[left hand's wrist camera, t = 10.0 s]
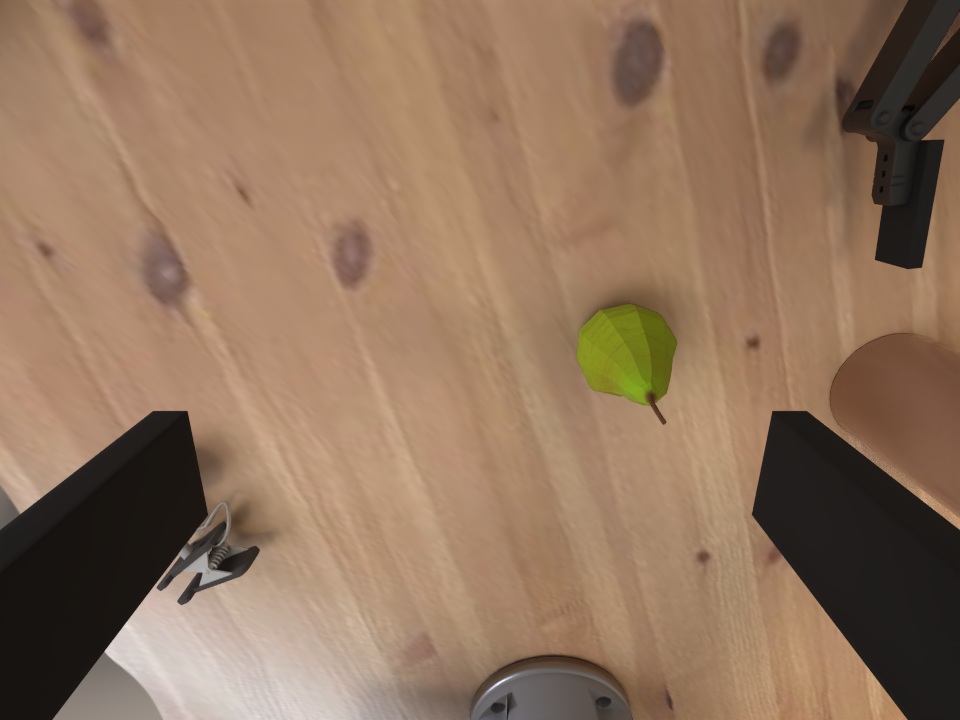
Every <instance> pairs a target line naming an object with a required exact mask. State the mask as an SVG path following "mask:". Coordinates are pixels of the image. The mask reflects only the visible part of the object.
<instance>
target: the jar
mask: <svg viewBox="0 0 960 720" xmlns="http://www.w3.org/2000/svg"><path fill="white" fill-rule="evenodd" d="M830 406H831V410H832V413H833V416H834V418H835V420H836V421H837V423H838V424H839V425H840V426H841V427H842V428H843V429H844V430H845V431H847V432H848V433H849V434H851V435H852V436H853V437H854V438H856V439H857V440H858V441H860V442H861V443H862V444H864V445H865V446H866V447H868V448H869V449H870V450H871V451H873V452H874V453H875V454H877V455H878V456H879V457H881V458H882V459H883V460H884V461H886V462H887V463H888V464H890V465H891V466H892V467H894V468H895V469H896V470H897V471H899V472H900V473H901V474H903V475H904V476H905V477H907V478H908V479H909V480H910V481H912V482H913V483H914V484H916V485H917V486H918V487H920V488H921V489H922V490H923V491H925V492H926V493H927V494H929V495H930V496H931V497H933V498H934V499H935V500H936V501H938V502H939V503H940V504H942V505H943V506H944V507H946V508H947V509H948V510H949V511H951V512H952V513H953V514H955V515H956V516H957V517H959V518H960V352H959V351H957V350H954V349H952V348H949V347H947V346H945V345H942V344H940V343H938V342H935V341H933V340H930V339H928V338H926V337H923V336H920V335H916V334H908V333H905V334H893V335H888V336H884V337H881V338H879V339H876V340H874V341H872V342H870V343H868V344H866V345H864V346H863V347H861V348H860V349H858V350H857V351H856V352H855V353H853V354H852V355H851V356H850V357H849V358H848V359H847V360H846V362H845V363H844V364H843V365H842V367H841V368H840V370H839V371H838V373H837V375H836V377H835V379H834V381H833V384H832V388H831V392H830Z"/></svg>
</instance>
